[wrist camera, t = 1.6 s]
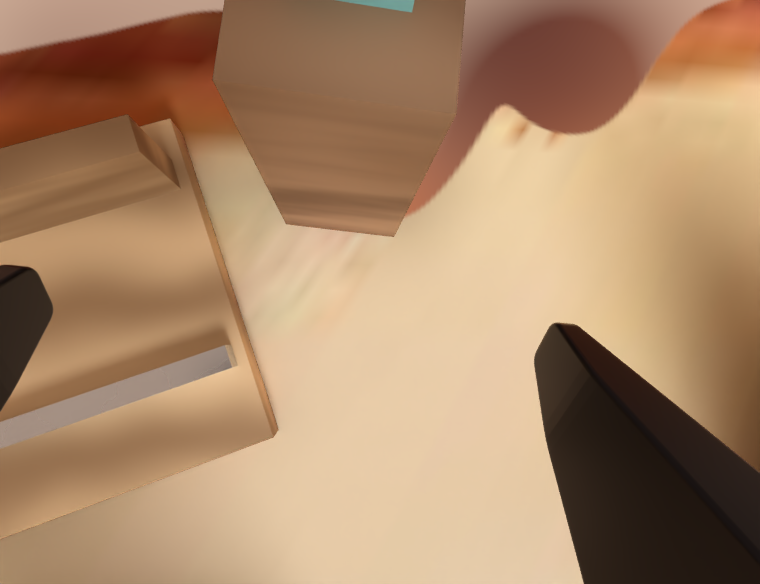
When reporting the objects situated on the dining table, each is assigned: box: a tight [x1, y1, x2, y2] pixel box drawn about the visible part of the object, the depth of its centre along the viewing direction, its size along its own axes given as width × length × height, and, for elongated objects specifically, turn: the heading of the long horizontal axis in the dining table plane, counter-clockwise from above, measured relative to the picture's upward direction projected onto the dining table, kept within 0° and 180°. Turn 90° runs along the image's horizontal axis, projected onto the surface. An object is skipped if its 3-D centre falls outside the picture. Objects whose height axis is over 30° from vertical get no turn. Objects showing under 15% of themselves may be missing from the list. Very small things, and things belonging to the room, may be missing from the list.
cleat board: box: [0, 114, 278, 539], centre depth 17 cm, size 16×16×6 cm
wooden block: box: [212, 0, 466, 237], centre depth 15 cm, size 6×6×13 cm
